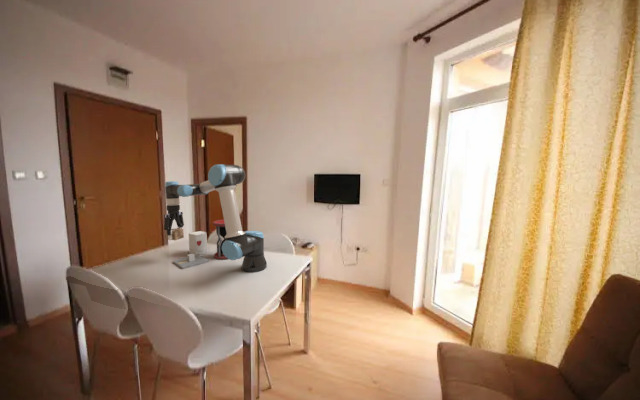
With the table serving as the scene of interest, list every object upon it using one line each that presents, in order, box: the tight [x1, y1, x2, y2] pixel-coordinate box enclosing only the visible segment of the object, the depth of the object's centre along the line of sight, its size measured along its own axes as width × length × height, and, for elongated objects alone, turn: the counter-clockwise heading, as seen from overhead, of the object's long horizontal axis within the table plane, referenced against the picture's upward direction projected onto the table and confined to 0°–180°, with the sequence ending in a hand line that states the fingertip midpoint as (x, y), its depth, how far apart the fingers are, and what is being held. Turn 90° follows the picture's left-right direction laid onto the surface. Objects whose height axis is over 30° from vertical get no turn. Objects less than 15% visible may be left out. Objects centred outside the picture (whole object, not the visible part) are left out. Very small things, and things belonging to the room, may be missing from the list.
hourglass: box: [212, 219, 229, 260], centre depth 171 cm, size 16×16×25 cm
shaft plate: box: [173, 253, 210, 270], centre depth 159 cm, size 16×16×5 cm
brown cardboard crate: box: [165, 228, 185, 241], centre depth 163 cm, size 7×7×6 cm
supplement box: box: [188, 230, 208, 256], centre depth 178 cm, size 9×9×15 cm
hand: (175, 238), depth 163 cm, fingers closed on brown cardboard crate, 7 cm apart
